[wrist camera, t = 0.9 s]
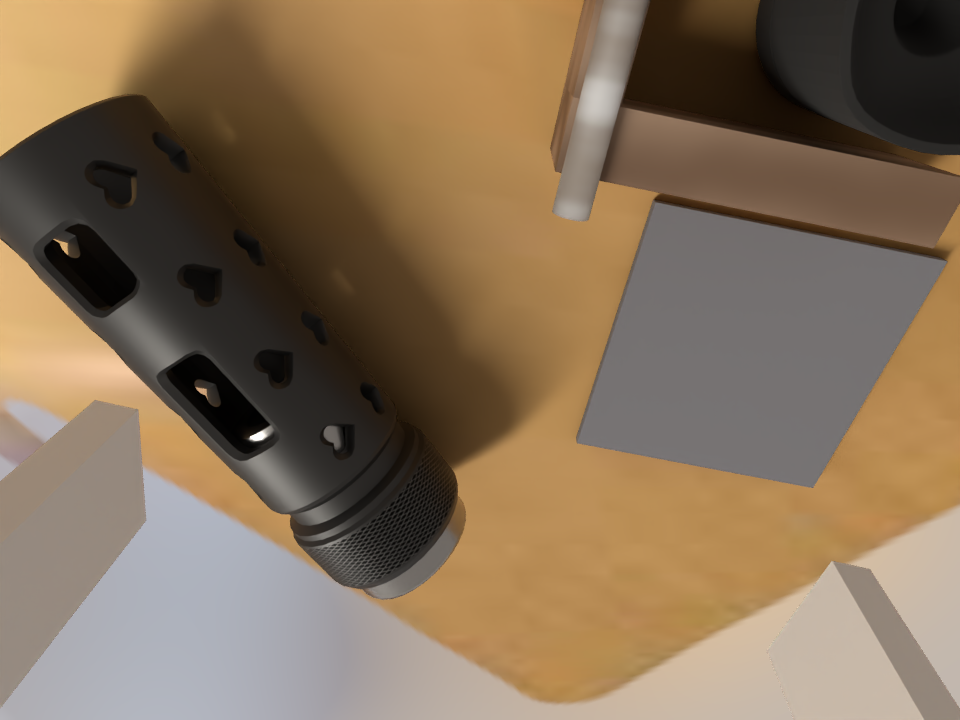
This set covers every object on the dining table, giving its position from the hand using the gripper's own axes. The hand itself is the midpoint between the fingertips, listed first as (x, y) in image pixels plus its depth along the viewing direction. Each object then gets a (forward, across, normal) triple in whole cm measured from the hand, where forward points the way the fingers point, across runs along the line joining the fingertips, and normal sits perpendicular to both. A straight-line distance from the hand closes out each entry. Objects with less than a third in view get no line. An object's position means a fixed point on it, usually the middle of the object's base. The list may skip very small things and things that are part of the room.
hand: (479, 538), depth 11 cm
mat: (+24, +16, -5) cm, 29 cm away
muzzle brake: (+25, -11, -11) cm, 29 cm away
